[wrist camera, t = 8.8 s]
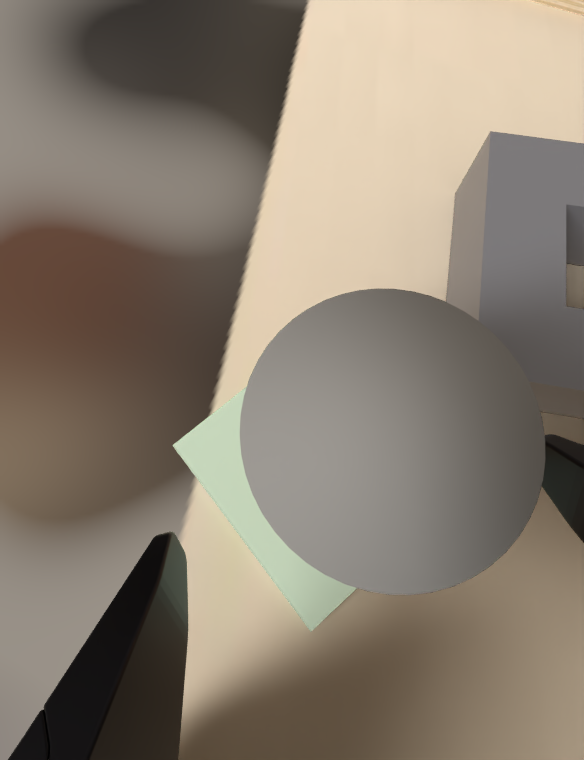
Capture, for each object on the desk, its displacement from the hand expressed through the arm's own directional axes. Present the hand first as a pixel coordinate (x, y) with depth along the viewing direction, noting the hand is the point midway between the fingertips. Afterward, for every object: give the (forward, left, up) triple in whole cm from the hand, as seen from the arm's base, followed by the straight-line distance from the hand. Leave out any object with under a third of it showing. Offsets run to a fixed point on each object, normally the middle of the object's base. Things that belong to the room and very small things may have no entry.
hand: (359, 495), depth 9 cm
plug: (+1, -1, -8) cm, 8 cm away
